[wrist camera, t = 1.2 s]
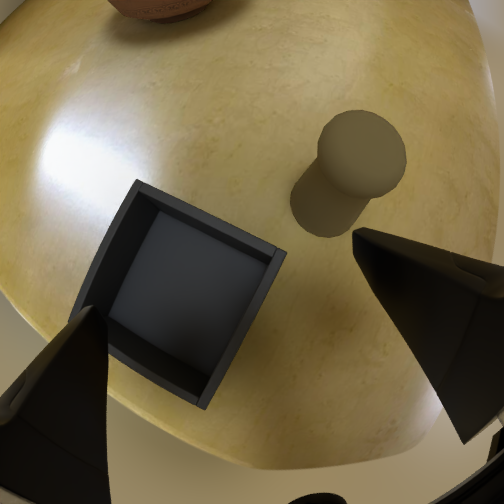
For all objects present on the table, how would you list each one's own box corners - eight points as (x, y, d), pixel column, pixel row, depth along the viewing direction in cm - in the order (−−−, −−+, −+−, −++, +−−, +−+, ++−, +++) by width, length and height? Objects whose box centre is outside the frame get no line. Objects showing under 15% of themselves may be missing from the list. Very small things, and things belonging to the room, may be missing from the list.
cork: (337, 251, 23) (400, 218, 12) (276, 211, 24) (294, 147, 13) (368, 195, 24) (433, 136, 13) (312, 158, 24) (345, 77, 13)
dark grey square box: (279, 262, 23) (287, 252, 17) (215, 385, 22) (205, 411, 16) (159, 202, 24) (135, 178, 18) (102, 317, 22) (67, 322, 17)
